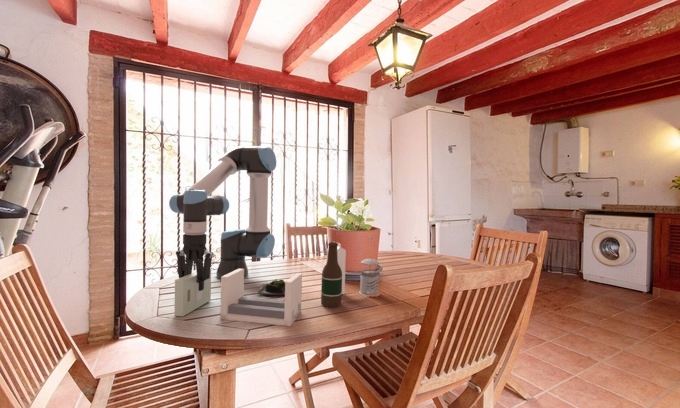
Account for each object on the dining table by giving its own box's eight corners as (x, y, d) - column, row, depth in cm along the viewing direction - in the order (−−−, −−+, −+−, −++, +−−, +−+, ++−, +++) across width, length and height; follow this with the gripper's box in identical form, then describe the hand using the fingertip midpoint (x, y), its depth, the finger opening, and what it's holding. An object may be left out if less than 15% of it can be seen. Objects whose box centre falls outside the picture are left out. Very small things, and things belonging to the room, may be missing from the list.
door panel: (203, 299, 117) (203, 268, 117) (210, 300, 117) (211, 269, 116) (174, 315, 102) (174, 279, 101) (182, 316, 101) (183, 280, 101)
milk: (333, 296, 127) (334, 244, 126) (325, 292, 132) (326, 241, 131) (344, 294, 131) (346, 242, 130) (336, 290, 136) (337, 240, 135)
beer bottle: (345, 305, 117) (347, 243, 117) (330, 310, 112) (332, 244, 111) (331, 300, 123) (333, 240, 122) (316, 304, 117) (318, 242, 117)
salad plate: (256, 285, 140) (256, 275, 140) (294, 283, 146) (295, 273, 146) (257, 299, 122) (258, 287, 122) (302, 296, 127) (302, 285, 127)
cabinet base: (220, 318, 101) (221, 276, 100) (238, 306, 113) (239, 268, 112) (290, 326, 97) (291, 282, 97) (300, 312, 109) (302, 273, 108)
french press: (353, 292, 133) (354, 235, 133) (373, 288, 140) (375, 234, 139) (367, 299, 125) (369, 238, 125) (388, 294, 132) (390, 236, 131)
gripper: (167, 233, 106) (166, 300, 107) (209, 235, 103) (208, 304, 104) (181, 231, 113) (180, 293, 114) (221, 233, 111) (220, 297, 111)
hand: (193, 298), depth 109 cm, fingers closed on door panel, 3 cm apart
